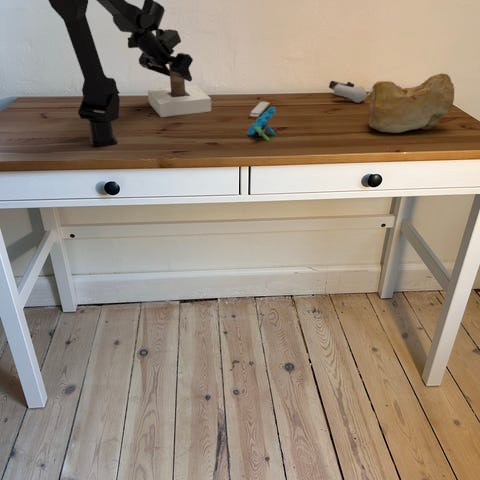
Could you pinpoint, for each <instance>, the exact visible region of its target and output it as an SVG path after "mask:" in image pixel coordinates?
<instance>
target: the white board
mask: <svg viewBox="0 0 480 480" xmlns="http://www.w3.org/2000/svg"><path fill="white" fill-rule="evenodd" d="M185 92H186V94H185V95H184V96H183V97H173V98H172V95H171V87H166V88H155V89H147V96H148V97H147V98H148V103H149V104H150V106H151V107H152V108H153V109H154V111H155V112H156V113H157V114H158V115H159V117H160V118H165V117H166V118H167V117H174V116H181V115H182V116H183V115H191V114H200V113H207V112H208V113H209V112H212V98H211V97H210V96H209V95H208V94H207V93H205V91H202V90H201V89H200V88H199V87H198V86H197V85H196V84H195V85H185Z"/></svg>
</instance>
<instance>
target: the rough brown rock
mask: <svg viewBox="0 0 480 480" xmlns="http://www.w3.org/2000/svg"><path fill="white" fill-rule="evenodd" d="M372 87H373V89H372V91H371V98H370V101H369V106H368V119H367V120H368V121H367V122H368V126H369V127H370V128H372V129H374V130H376V131H379V132H381V133H391V134H398V133H403V132H404V133H405V132H407V131H411V130H419V129H421V130H430V129H432V128H433V126H434V125H435V124H436V123H438V121H439V119H440V118H441V117H444V116H445V115H446V114H447V113H449V112H451V111H452V109H453V106H454V100H455V86H454V83H453V82H452V80H451V77H450V76H449V74H448V73H438V74H434V75H431V76H430V77H429V78H427V79H426V80H424V82H422V83H420V84H419V85H417V86H413V87H405V88H402V87H401V86H399V85H397V84H396V83H395V82H393V81H386V80H385V81H384V80H381V81H380V80H379V81H376V82H375V83H374V84H373V85H372Z"/></svg>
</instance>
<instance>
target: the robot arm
mask: <svg viewBox="0 0 480 480" xmlns="http://www.w3.org/2000/svg"><path fill="white" fill-rule="evenodd" d="M47 1H48V3H49V5H50V7H51V8H52V9H53V10H54V11H55V13H57V15H58V16H60V18H61V19H62V20H63V22H64V25H65V28H66V31H67V34H68V36H69V40H70V43H71V45H72V48H73V51H74V54H75V56H76V60H77V63H78V65H79V67H80V71H81V73H82V76H83V85H82V88H81V93H82V96H83V97H82V100H81V103H80V105H79V109H78V111H77V115H79V118H80V119H81V120H88V126H89V132H90V136H89V137H88V138H89V141H90V144H91V147H100V146H101V147H102V146H109V145H115V144H118V142H119V141H118V139H117V138H116V135H115V134H114V128H113V121H115V120H117V119H119V116H120V115H119V114H120V95H119V94H120V91H119V89H118V87H117V82H116V80H115V78H113V77H107V75H106V74H105V72H104V69H103V66H102V62H101V60H100V57H99V53H98V51H97V46H96V44H95V40H94V38H93V34H92V31H91V28H90V25H89V21H88V19H87V15H86V14H87V10H88V5H89V0H47ZM96 1H97V2H98V3H99V4H100V5H101V6H102V8H104V9H105V10H106V11H107V12H109V14H111V16H112V21H113V24H115V26H116V27H117V28H118V30H119V31H120V32H122V33H130V36H129V37H127V48H128V49H135V48H138V49H139V50H140V51H141V52H142V53H141V55H140V56H139V58H138V64H139V65H140V66H141V67H142V68H145V69H147V70H149V71H153V72H156V73H158V74H160V75H161V74H162V75H164V76H167V77H169V78H170V71H169V67H168V66H167V65H169V64H170V65H171V66H170V67H171V72H172V73H173V74H175V76H177V77H180V78H182V79H184V80H185V81H187V82H190V83H191V82H192V80H193V77H192V75H191V71H190V67H191V65H192V63H193V61H194V58H193V57H192V56H191V55H190V54H188V53H184V52H178V53H177V54H176V56H174V55H173V54H174V52H175V49H174V48H175V47H176V46H178V45H179V44H180V43H181V42H182V40H181V37H180V34H179V31H178V30H176V29H169V28H167V29H162V28H160V26H161V22H162V19H163V17H164V14H165V10H166V9H165V8H164V6H163V5H162V4H160V3H159V2H158V1H154V0H144V2H143V4H142V8H140V7H138V6H137V5H135V4H132V3H130V2H128V1H126V0H96ZM153 32H155V34H154V33H153ZM97 111H99V112H97ZM100 111H101V112H100Z"/></svg>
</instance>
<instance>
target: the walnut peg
mask: <svg viewBox="0 0 480 480" xmlns="http://www.w3.org/2000/svg"><path fill="white" fill-rule="evenodd" d="M170 66H171V65H170V64H168V69H169V71H170V77H169V81H170V83H169V84H170V88H171V95H172V98H173V97H183V96H184V95H185V94H186V92H185V86H186V84H185V82H186V80H185V79H182V78H180V77H177V76H175V74H173V73H172V72H171V67H170Z"/></svg>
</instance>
